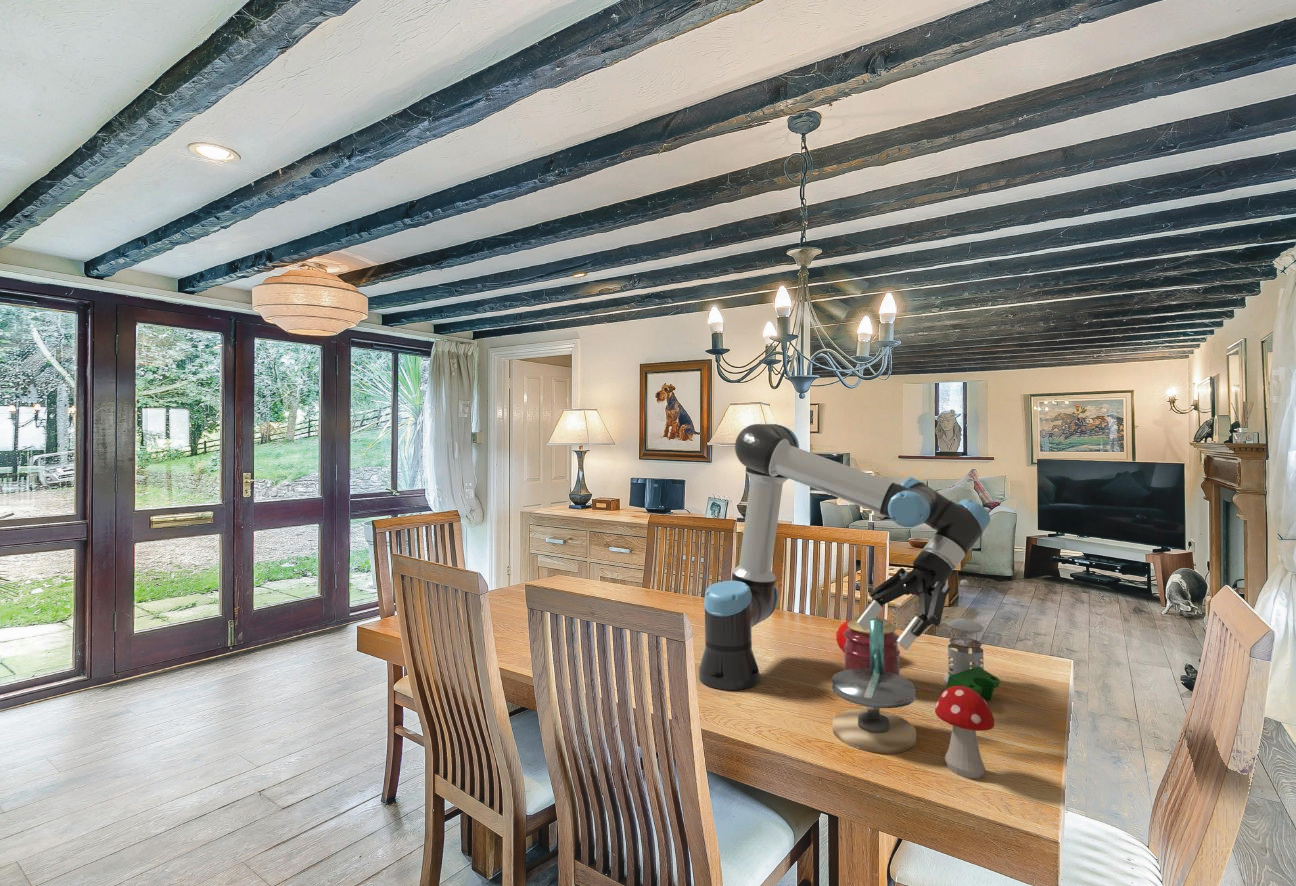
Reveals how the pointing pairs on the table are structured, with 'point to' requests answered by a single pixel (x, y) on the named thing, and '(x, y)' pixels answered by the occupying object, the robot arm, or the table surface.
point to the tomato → (842, 635)
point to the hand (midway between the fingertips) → (880, 635)
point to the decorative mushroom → (964, 728)
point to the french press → (964, 645)
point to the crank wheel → (874, 680)
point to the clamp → (975, 681)
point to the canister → (860, 647)
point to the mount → (874, 731)
